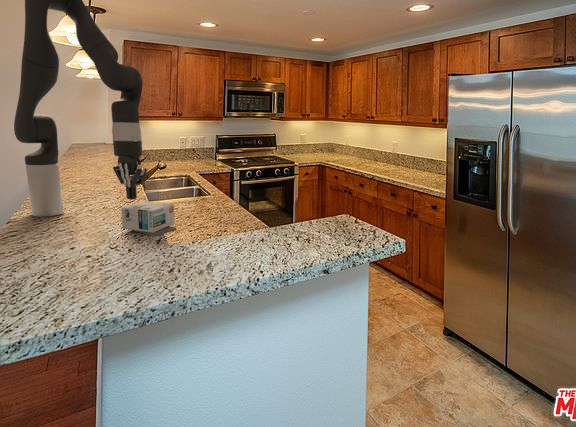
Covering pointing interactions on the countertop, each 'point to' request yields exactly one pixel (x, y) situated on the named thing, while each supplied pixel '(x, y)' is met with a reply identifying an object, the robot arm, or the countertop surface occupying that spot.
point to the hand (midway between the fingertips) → (131, 199)
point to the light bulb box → (147, 216)
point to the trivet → (162, 231)
